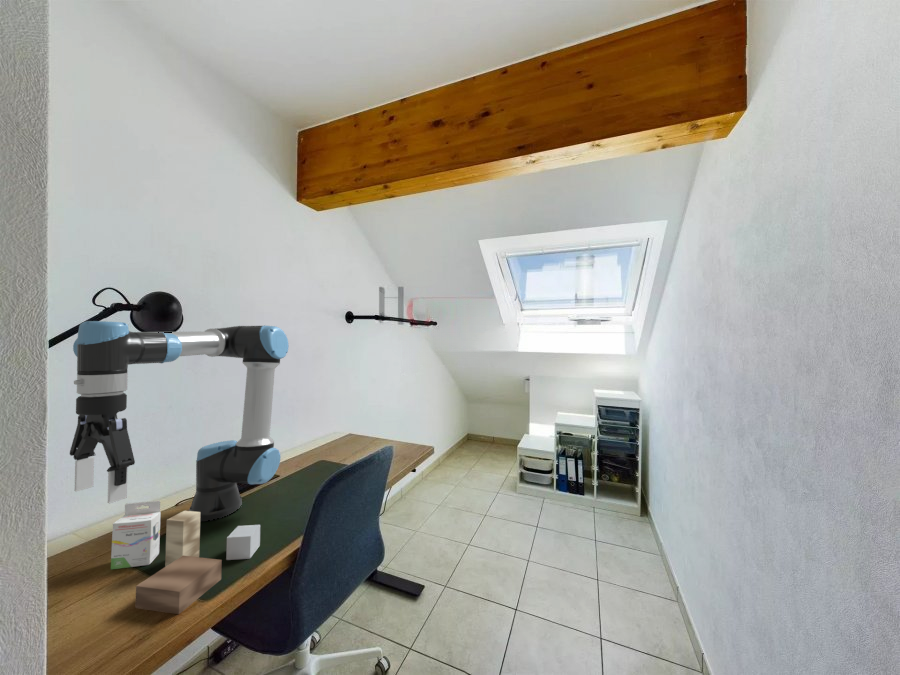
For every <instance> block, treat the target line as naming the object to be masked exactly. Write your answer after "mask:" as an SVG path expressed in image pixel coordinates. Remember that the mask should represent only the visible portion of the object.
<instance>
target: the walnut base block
mask: <svg viewBox="0 0 900 675" xmlns="http://www.w3.org/2000/svg"><path fill="white" fill-rule="evenodd" d="M222 561H223V560H222V559H219V558H218V559H216V558H209V557H200V556H199V557H192V556H181V557H180V558H178V559H177V560H175V561H174V562H172V563H171V564H169V565H168V566H166V567H165V566H164V567H163V568H161V569H160V570H158V571H156V572H155V573H154V574H152V575H150V576H149V577H147V578H146V579H145V580H143V581H142V582H139V583H138V584H137V585H136V586H135V603H134V605H135V607H134V608H135V609H140V610H147V611H155V612H160V613H167V614H168V613H170V614H175V615H180V614H182V612H183V611H185V610H186V609H187V608H188V607H190V606H191V605H192V604H194V602H196V601H197V600H198V599H199V598H200V597H202V596H203V595H204V594H205V593H207V592H208V591H209V590H210V589H212V587H214V586H215V585H217V584H218V583H219V582H220V581H221V580H222V565H223V564H222Z"/></svg>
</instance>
